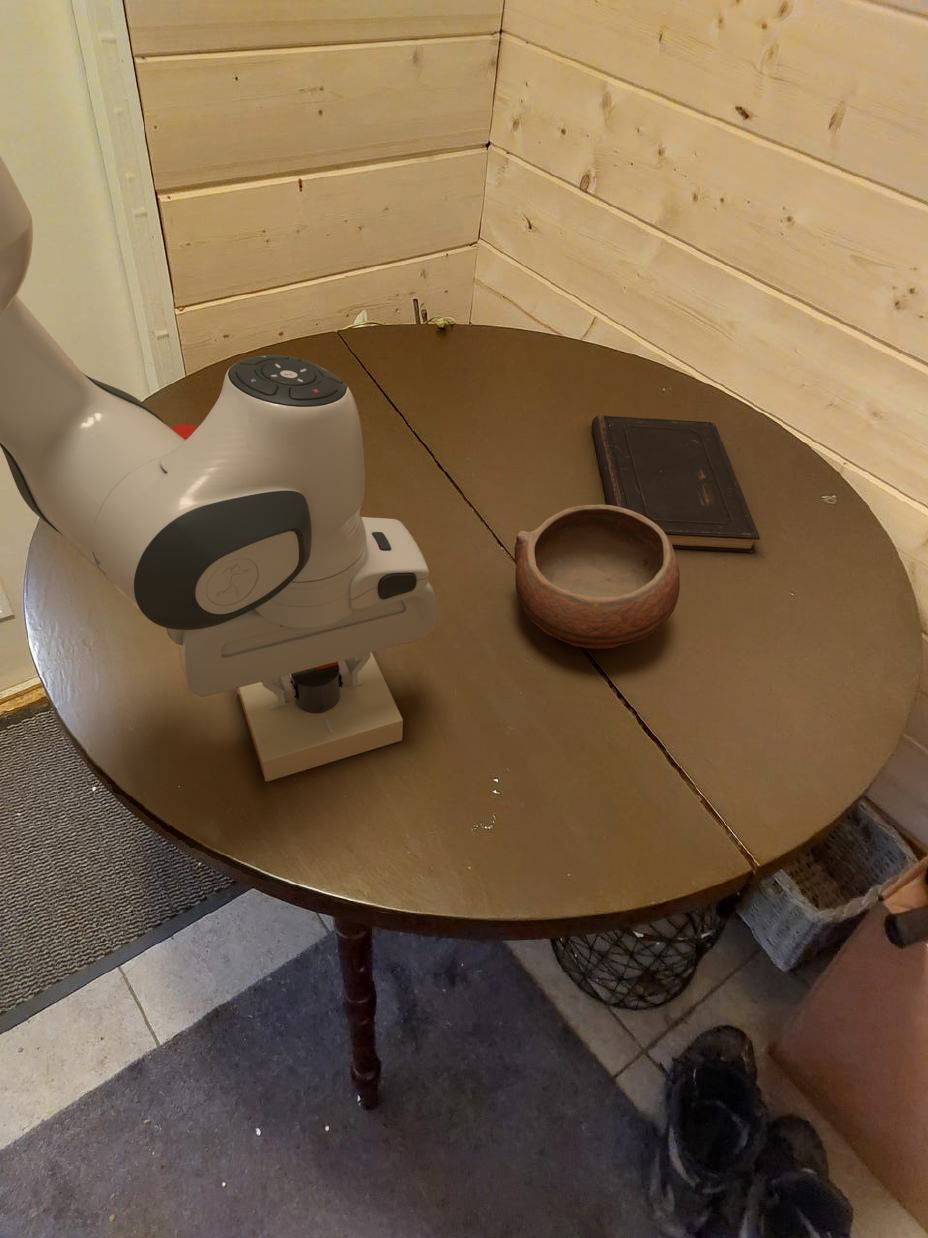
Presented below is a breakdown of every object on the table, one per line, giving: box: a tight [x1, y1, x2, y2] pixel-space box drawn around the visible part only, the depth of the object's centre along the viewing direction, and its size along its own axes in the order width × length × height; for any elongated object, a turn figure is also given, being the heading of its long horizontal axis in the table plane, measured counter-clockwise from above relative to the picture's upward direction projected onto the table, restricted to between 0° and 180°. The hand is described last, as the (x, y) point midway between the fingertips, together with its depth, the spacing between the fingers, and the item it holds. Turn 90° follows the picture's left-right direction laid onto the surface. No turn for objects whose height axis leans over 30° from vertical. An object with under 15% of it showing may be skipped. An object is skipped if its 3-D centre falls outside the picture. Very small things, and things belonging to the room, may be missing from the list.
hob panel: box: [236, 652, 404, 783], centre depth 72 cm, size 12×10×3 cm
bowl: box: [513, 504, 681, 649], centre depth 81 cm, size 16×16×10 cm
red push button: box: [170, 424, 198, 440], centre depth 92 cm, size 4×4×2 cm
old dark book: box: [591, 414, 761, 554], centre depth 100 cm, size 16×23×2 cm
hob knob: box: [291, 661, 341, 713], centre depth 70 cm, size 4×4×4 cm
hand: (317, 689), depth 70 cm, fingers closed on hob knob, 4 cm apart
